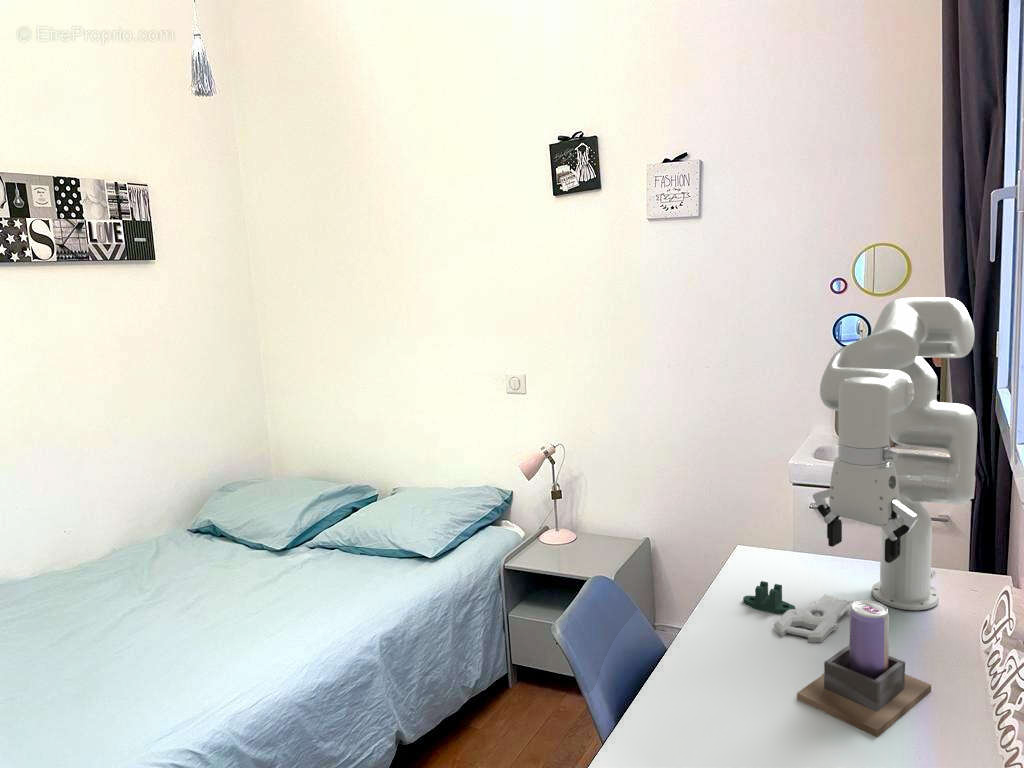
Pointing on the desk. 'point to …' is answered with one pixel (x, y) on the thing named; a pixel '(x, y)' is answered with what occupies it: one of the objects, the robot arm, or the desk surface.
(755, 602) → the mount
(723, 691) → the desk surface
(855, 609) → the beverage can
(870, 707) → the can dock
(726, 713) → the desk surface
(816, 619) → the grey mechanical plate
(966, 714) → the desk surface
